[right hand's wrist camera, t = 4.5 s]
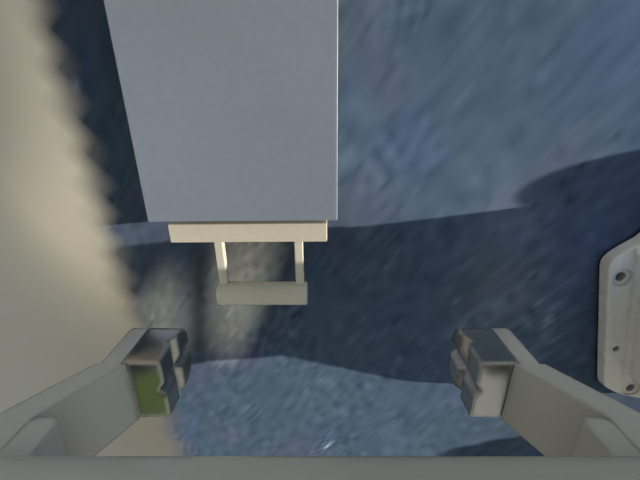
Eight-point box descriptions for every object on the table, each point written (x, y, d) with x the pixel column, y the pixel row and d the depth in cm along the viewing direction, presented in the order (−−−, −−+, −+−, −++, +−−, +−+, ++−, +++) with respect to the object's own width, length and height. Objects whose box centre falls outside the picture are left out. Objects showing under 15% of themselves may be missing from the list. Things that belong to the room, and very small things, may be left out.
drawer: (327, 274, 31) (327, 326, 23) (219, 275, 31) (185, 326, 24) (324, -107, 21) (323, -219, 14) (169, -102, 22) (88, -209, 14)
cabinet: (334, 185, 29) (337, 220, 20) (204, 186, 29) (147, 222, 20) (334, -162, 21) (339, -372, 12) (158, -156, 21) (30, -357, 12)
